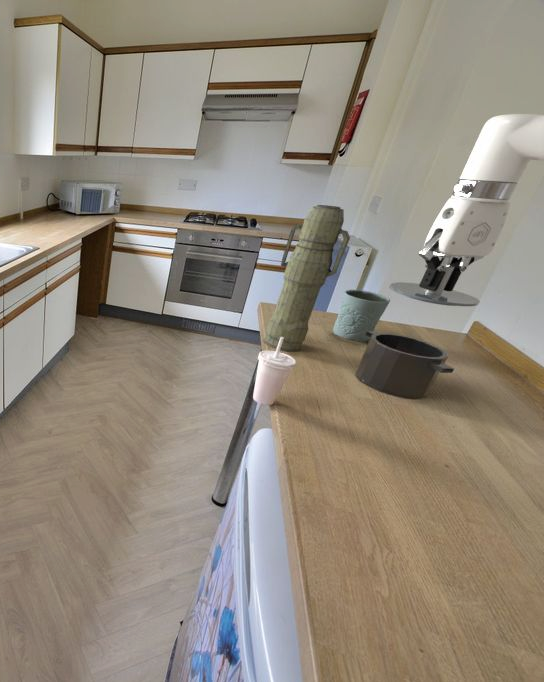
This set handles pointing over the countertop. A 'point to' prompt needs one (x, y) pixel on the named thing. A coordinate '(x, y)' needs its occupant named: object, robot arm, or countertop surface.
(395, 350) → the pot
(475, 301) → the lid
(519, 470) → the countertop surface
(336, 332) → the green embossed cup
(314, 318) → the countertop surface
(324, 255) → the thermos
